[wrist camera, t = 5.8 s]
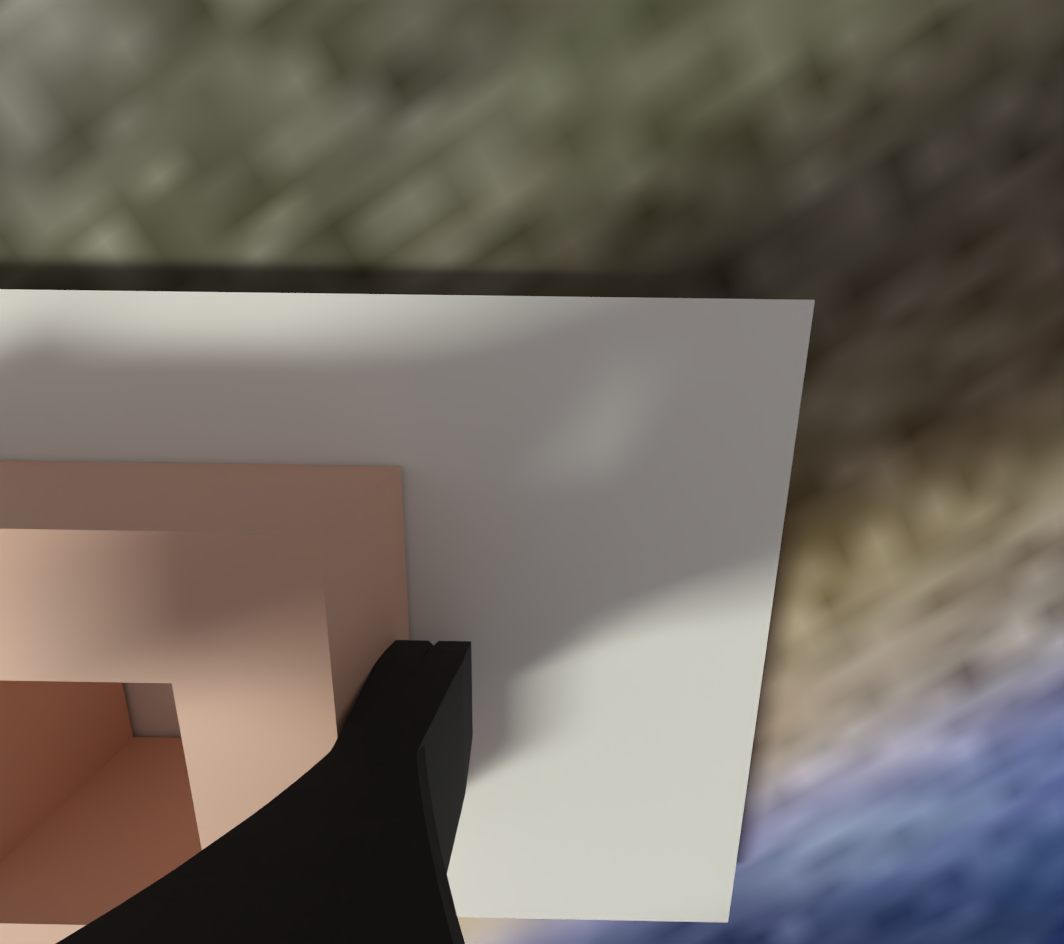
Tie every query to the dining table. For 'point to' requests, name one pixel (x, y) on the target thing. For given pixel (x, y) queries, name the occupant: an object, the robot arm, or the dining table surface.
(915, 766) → the dining table surface
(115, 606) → the sliding block
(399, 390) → the base board
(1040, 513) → the dining table surface
